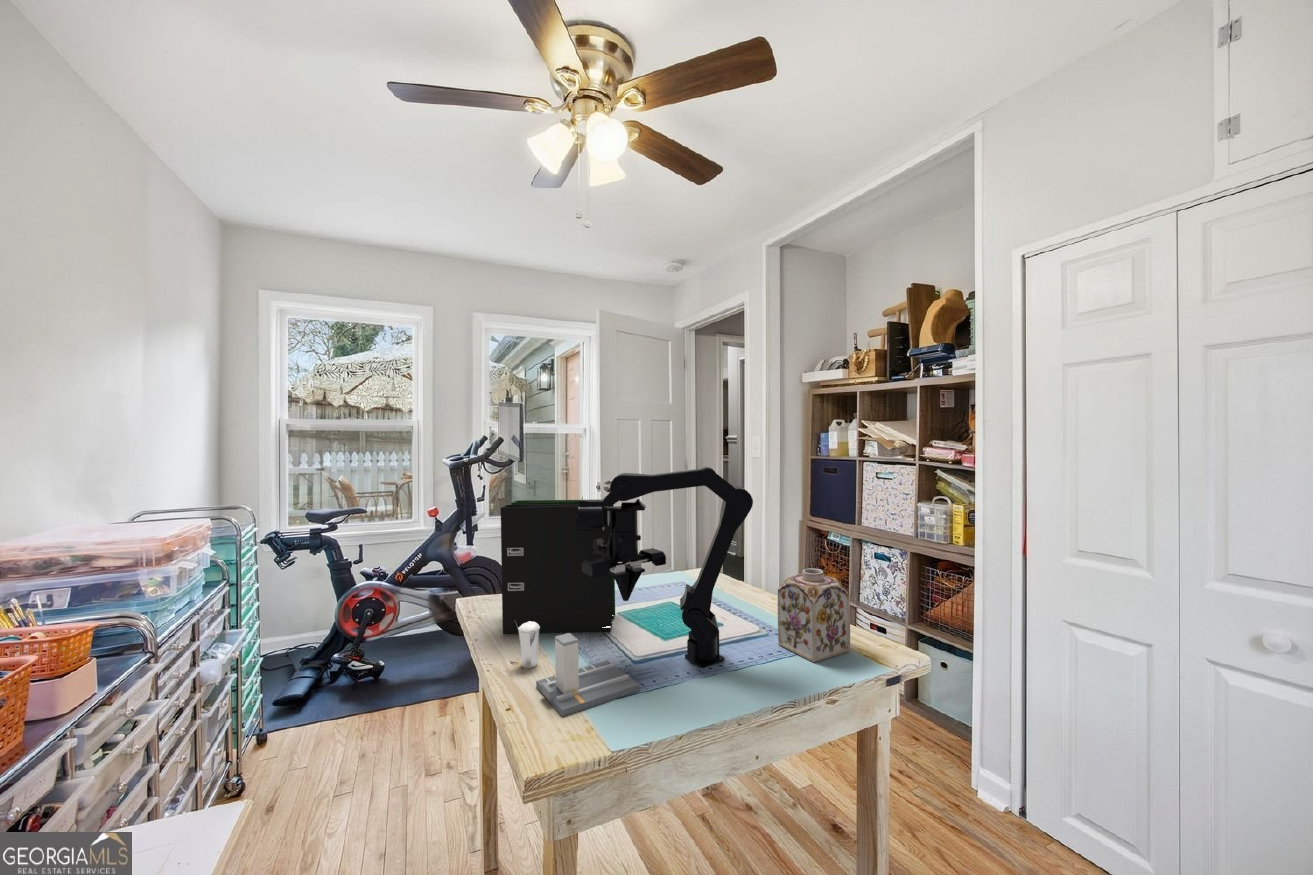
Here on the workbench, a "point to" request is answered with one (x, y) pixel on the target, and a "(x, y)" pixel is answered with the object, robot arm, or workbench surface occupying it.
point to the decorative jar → (813, 615)
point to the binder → (552, 570)
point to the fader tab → (566, 663)
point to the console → (589, 688)
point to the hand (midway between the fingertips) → (625, 600)
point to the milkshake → (529, 643)
